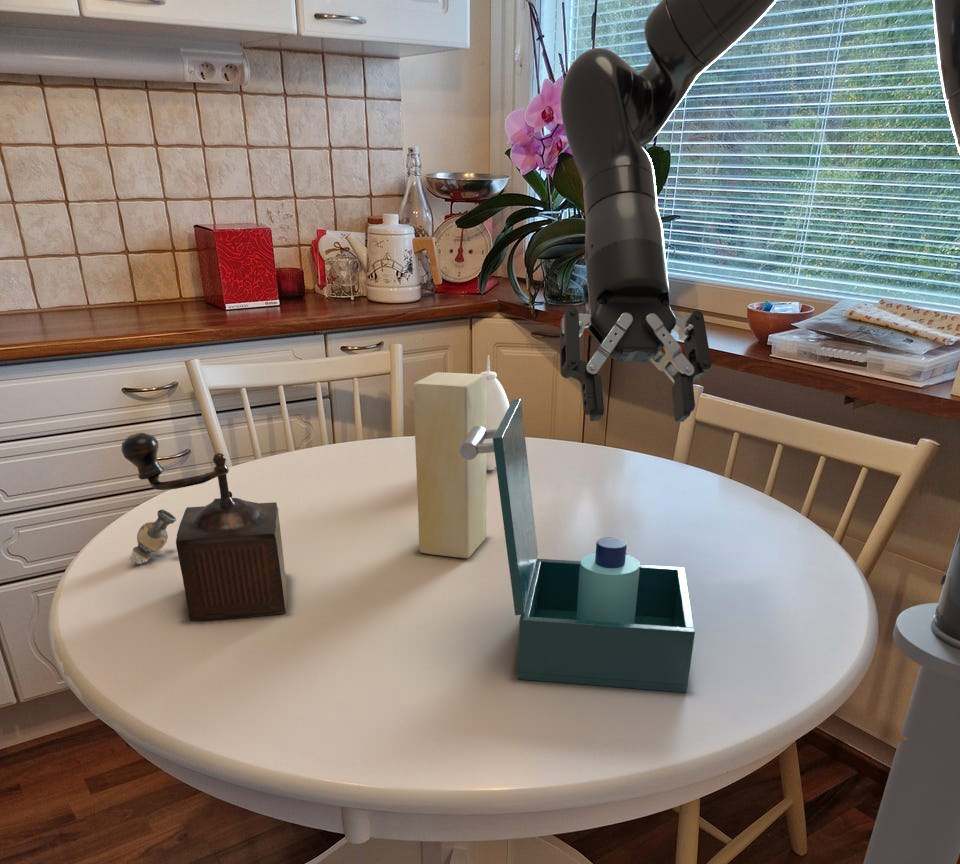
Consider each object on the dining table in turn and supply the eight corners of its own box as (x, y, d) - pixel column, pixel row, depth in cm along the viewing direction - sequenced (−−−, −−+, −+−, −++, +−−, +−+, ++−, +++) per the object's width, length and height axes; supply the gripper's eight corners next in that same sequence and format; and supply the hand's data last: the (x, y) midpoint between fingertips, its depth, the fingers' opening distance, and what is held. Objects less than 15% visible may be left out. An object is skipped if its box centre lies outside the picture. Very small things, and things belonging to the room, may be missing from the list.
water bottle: (631, 635, 86) (641, 533, 81) (631, 662, 81) (642, 555, 76) (575, 631, 87) (582, 530, 81) (573, 658, 82) (580, 552, 76)
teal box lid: (520, 398, 82) (474, 403, 83) (502, 437, 69) (447, 442, 70) (537, 553, 89) (495, 556, 90) (523, 614, 76) (474, 617, 77)
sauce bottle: (490, 459, 144) (491, 348, 135) (521, 469, 138) (524, 355, 130) (454, 467, 140) (452, 354, 131) (483, 478, 134) (484, 361, 126)
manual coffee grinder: (288, 574, 101) (271, 422, 92) (287, 614, 91) (268, 450, 83) (151, 584, 98) (121, 429, 90) (136, 627, 89) (101, 458, 80)
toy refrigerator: (434, 531, 114) (431, 370, 104) (487, 537, 112) (488, 374, 102) (412, 552, 107) (406, 382, 97) (468, 560, 105) (467, 387, 95)
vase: (185, 548, 108) (177, 503, 105) (178, 565, 103) (170, 518, 100) (140, 551, 107) (131, 505, 104) (132, 568, 102) (122, 521, 100)
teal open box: (677, 621, 90) (684, 567, 87) (686, 692, 78) (695, 632, 75) (532, 611, 92) (534, 558, 89) (517, 679, 80) (519, 619, 77)
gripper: (565, 231, 77) (579, 401, 75) (711, 238, 80) (729, 403, 77) (544, 277, 84) (557, 433, 82) (679, 282, 87) (694, 433, 85)
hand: (640, 418), depth 80 cm, fingers open, 8 cm apart
